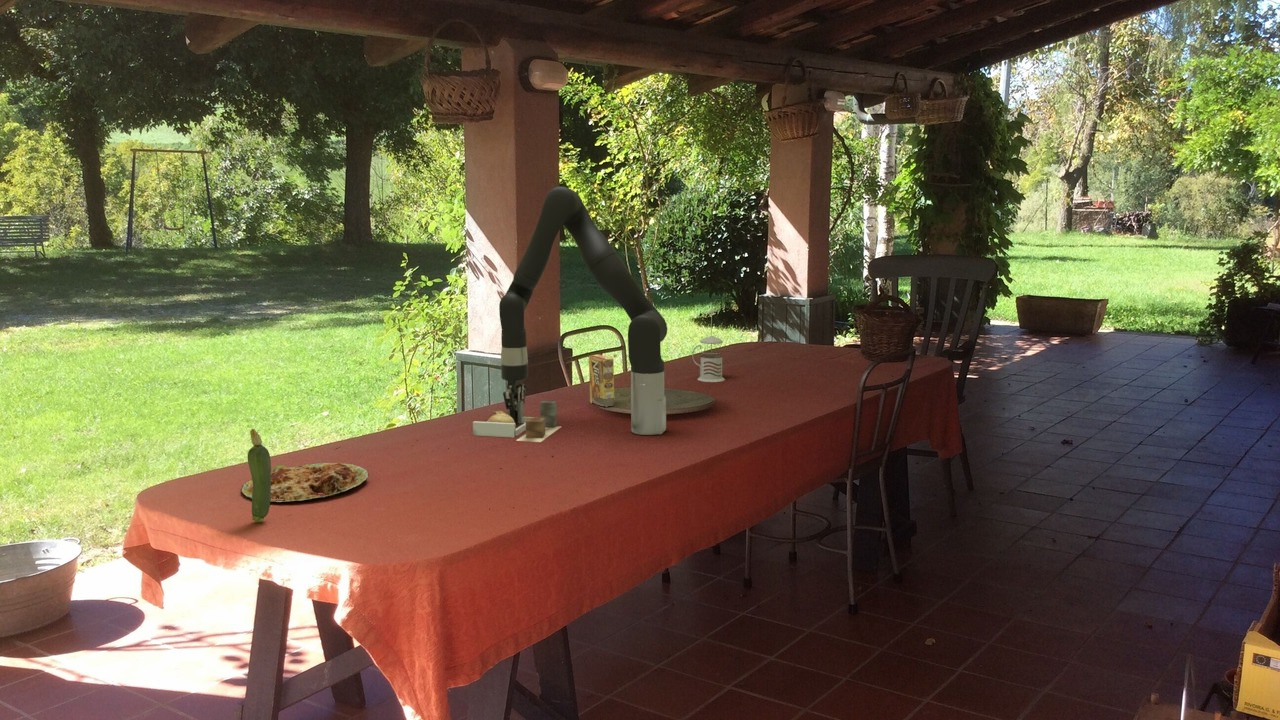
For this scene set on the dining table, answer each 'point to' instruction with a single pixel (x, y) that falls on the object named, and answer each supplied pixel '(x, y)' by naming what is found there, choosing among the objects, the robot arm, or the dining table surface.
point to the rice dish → (311, 481)
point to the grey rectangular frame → (502, 426)
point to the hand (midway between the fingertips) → (515, 421)
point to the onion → (501, 417)
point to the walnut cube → (535, 427)
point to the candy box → (601, 377)
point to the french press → (715, 358)
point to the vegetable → (259, 477)
